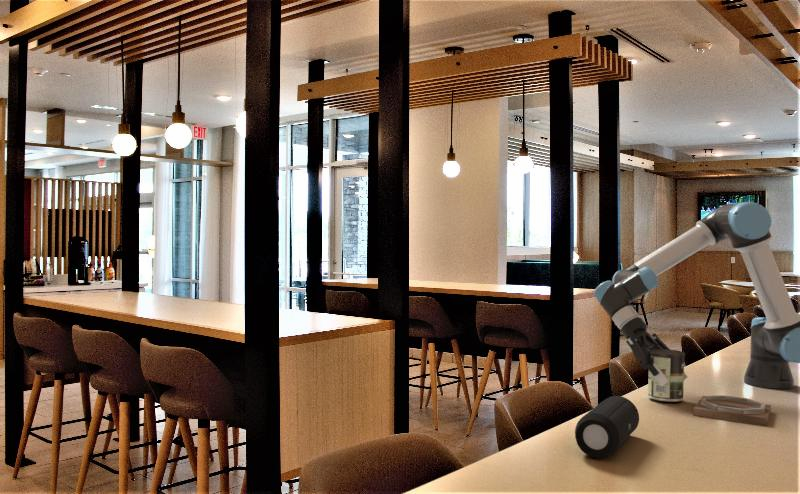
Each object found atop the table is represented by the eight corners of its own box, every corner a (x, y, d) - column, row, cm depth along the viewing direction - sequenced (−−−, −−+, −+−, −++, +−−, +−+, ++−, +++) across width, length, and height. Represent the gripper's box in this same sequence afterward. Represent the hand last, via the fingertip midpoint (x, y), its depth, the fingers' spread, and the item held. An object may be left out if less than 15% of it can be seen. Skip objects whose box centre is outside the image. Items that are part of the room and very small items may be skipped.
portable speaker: (616, 465, 148) (617, 419, 148) (570, 457, 153) (572, 412, 153) (640, 437, 170) (641, 396, 170) (600, 430, 175) (601, 391, 175)
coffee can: (679, 395, 213) (681, 349, 213) (686, 402, 203) (688, 355, 203) (644, 392, 215) (646, 347, 215) (650, 400, 205) (651, 353, 205)
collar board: (702, 402, 207) (703, 392, 207) (770, 411, 198) (770, 400, 198) (693, 415, 192) (693, 403, 192) (766, 425, 183) (766, 413, 183)
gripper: (642, 328, 228) (686, 384, 216) (601, 333, 214) (645, 393, 202) (657, 313, 224) (702, 370, 212) (616, 318, 210) (663, 378, 198)
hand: (675, 381), depth 207 cm, fingers closed on coffee can, 10 cm apart
